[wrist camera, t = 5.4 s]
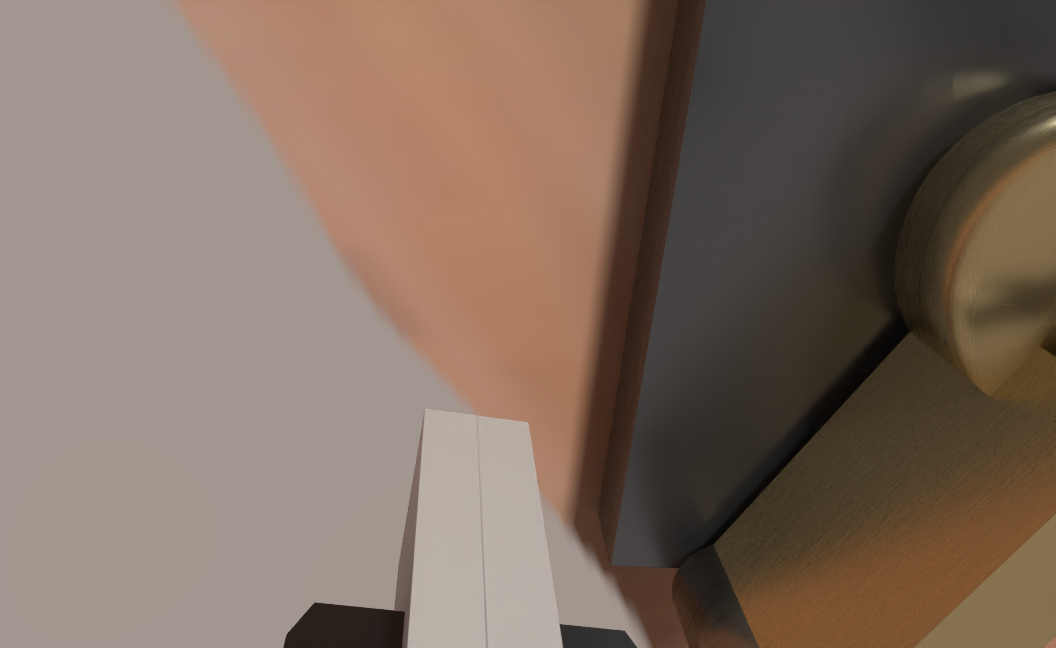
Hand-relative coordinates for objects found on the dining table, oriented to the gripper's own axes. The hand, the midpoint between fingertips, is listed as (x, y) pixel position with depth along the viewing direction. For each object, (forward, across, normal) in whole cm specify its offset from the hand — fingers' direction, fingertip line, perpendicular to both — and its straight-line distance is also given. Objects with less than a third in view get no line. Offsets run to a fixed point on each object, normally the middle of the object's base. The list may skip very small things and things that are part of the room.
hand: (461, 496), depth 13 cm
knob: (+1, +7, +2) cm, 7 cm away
